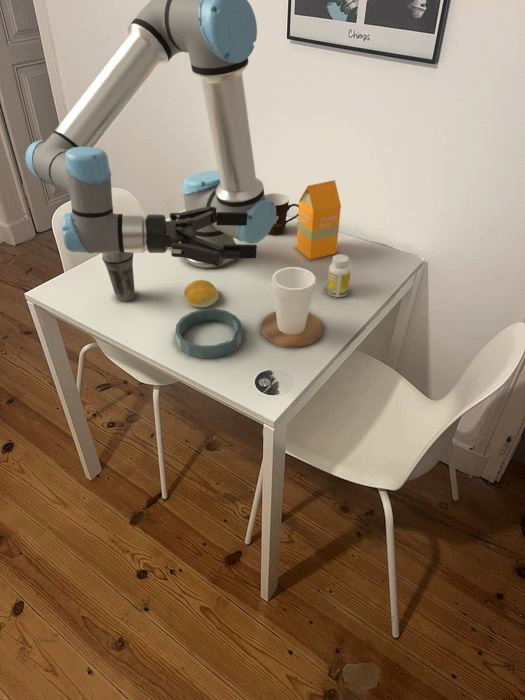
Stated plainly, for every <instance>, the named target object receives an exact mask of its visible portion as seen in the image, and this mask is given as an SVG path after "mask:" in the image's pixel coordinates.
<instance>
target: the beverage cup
mask: <svg viewBox="0 0 525 700" xmlns="http://www.w3.org/2000/svg"><path fill="white" fill-rule="evenodd" d="M101 256H102V258H101V259H102V261H103V263H104V266H105V267H106V270H107V273H108V277H109V279H110V282H111V286H112V290H113V292H114V295H115V297H116V300H117V301H118V302H123V303H125V302H131V301H132V300H133V299H134V298H135V279H134V267H133V263H134V253H128V252H124V253H121V252H117V253H101Z"/></svg>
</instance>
